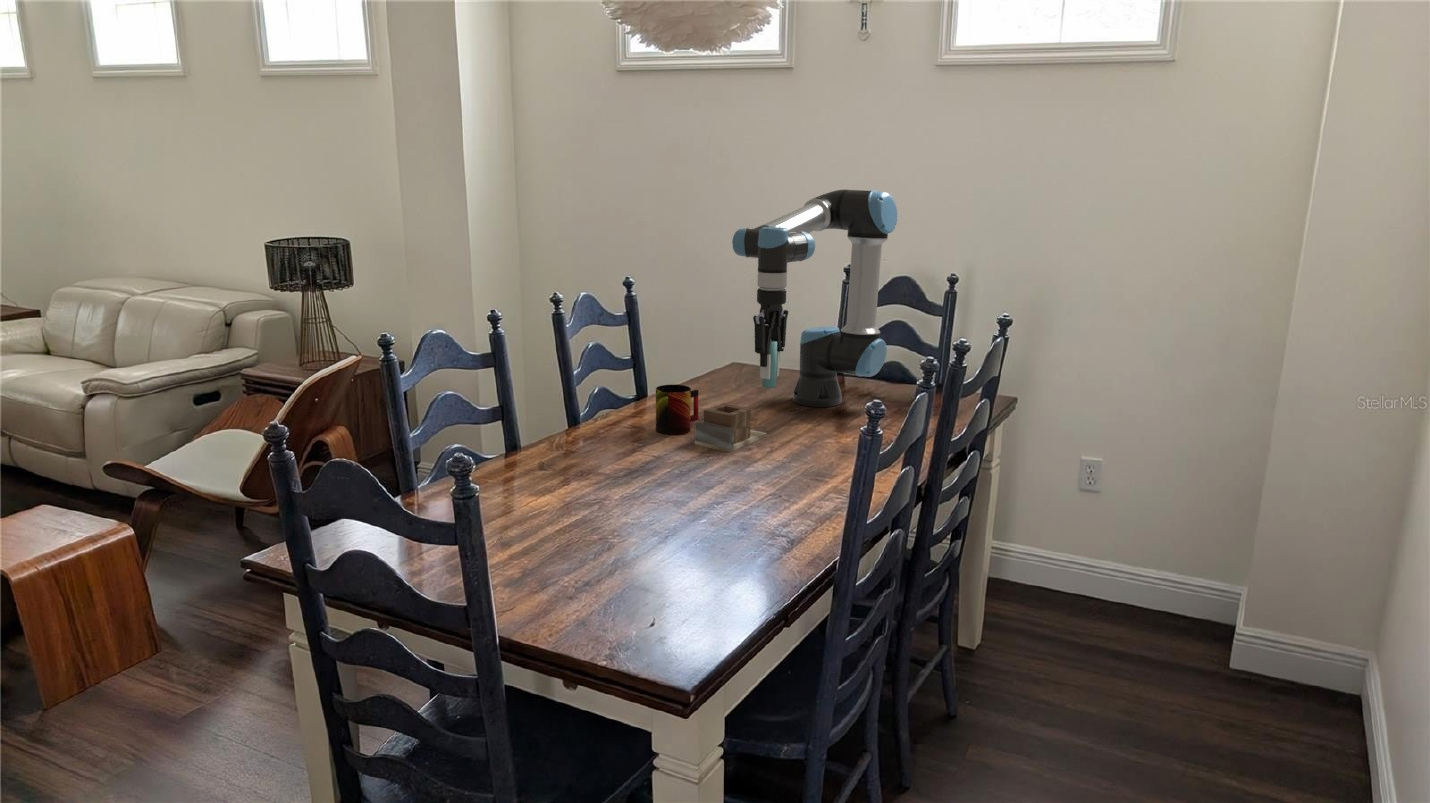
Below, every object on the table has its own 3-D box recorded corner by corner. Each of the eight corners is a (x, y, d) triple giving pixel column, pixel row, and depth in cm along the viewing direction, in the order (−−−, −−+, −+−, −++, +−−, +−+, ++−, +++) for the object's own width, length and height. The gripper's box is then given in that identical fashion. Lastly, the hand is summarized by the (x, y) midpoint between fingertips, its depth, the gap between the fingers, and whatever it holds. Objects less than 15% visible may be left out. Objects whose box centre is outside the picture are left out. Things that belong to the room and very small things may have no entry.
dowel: (767, 384, 266) (768, 339, 263) (778, 386, 264) (779, 341, 261) (759, 386, 263) (760, 341, 260) (771, 388, 261) (772, 343, 258)
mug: (698, 423, 285) (699, 382, 282) (685, 436, 272) (685, 394, 269) (666, 420, 288) (666, 380, 285) (651, 433, 275) (651, 391, 272)
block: (722, 431, 274) (723, 403, 272) (750, 437, 269) (750, 408, 267) (703, 439, 267) (703, 410, 265) (730, 445, 262) (731, 415, 260)
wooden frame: (733, 429, 280) (733, 408, 278) (766, 436, 274) (767, 415, 272) (694, 444, 266) (694, 422, 264) (728, 452, 259) (729, 430, 258)
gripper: (776, 283, 266) (774, 369, 272) (741, 290, 253) (739, 380, 259) (801, 286, 261) (798, 373, 268) (766, 293, 248) (764, 385, 255)
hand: (769, 376), depth 263 cm, fingers closed on dowel, 3 cm apart
